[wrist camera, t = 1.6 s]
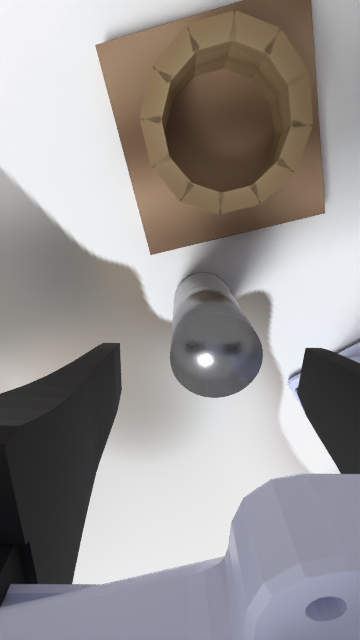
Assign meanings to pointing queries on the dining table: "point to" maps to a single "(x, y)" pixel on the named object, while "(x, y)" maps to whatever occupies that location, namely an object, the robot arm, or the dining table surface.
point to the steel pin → (212, 339)
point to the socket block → (219, 121)
